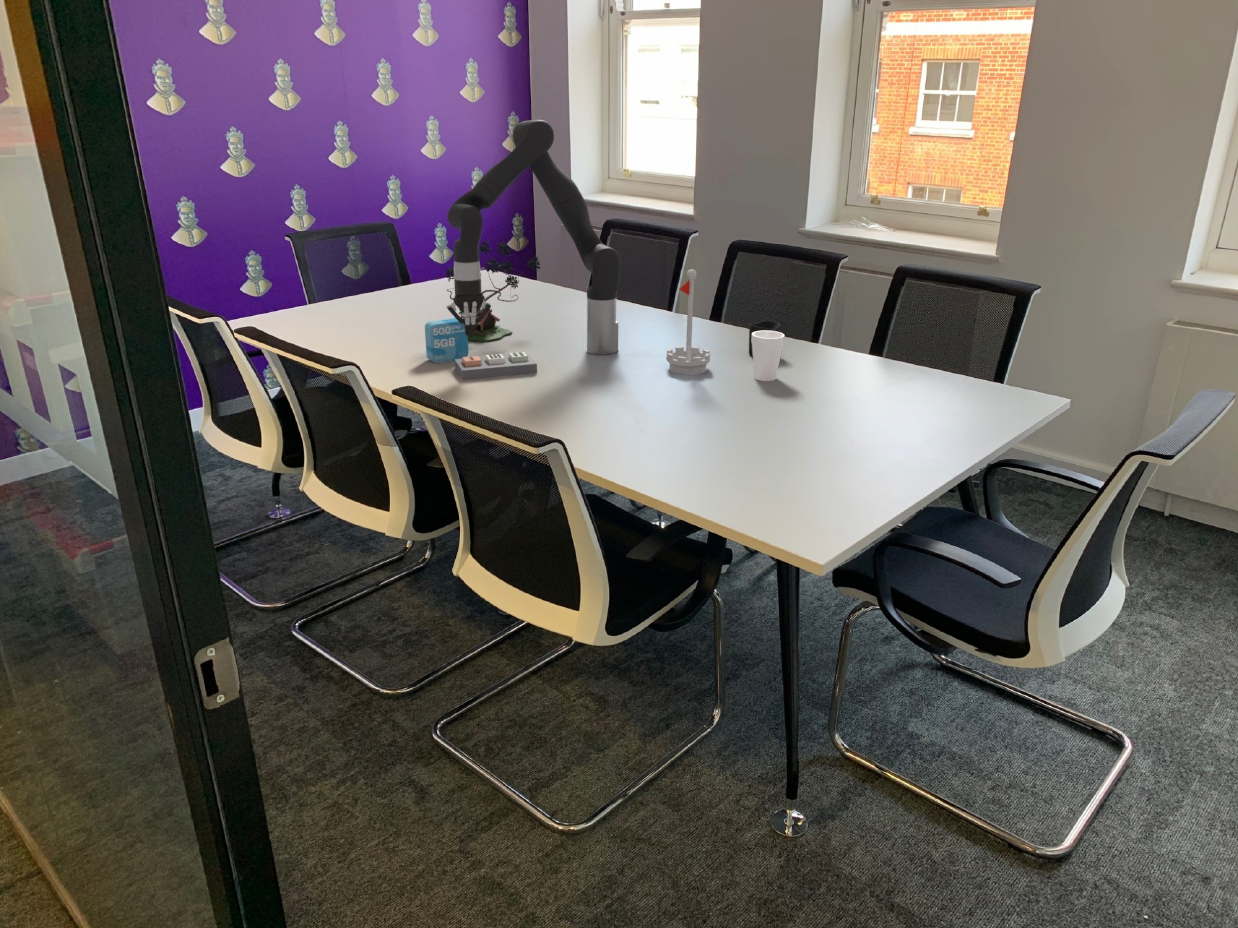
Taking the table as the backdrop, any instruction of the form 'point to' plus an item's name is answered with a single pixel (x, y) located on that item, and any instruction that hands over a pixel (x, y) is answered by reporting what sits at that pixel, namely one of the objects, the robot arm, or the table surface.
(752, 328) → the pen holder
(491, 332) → the bonsai tree
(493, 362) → the button three
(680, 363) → the flag stand
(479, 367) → the button panel
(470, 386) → the table surface
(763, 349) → the foam cup
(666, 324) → the table surface
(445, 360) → the data package
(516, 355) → the button two
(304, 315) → the table surface
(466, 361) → the button one
